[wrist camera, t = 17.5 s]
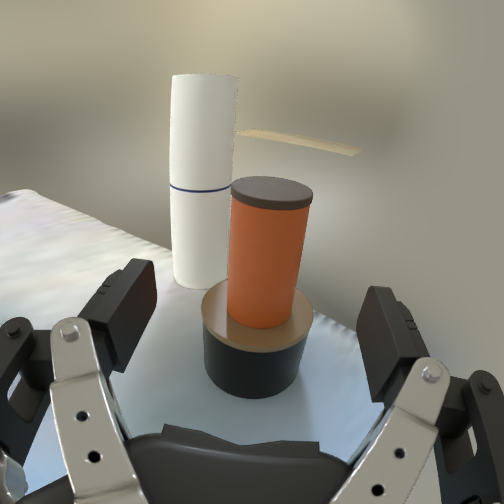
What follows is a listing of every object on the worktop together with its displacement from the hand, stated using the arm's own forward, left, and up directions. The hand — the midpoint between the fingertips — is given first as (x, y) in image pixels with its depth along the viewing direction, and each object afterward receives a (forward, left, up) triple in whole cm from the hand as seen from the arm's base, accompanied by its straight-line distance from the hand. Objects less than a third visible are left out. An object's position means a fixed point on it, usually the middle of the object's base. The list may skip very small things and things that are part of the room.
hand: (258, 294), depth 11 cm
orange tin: (-5, +9, -9) cm, 14 cm away
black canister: (-5, +9, -16) cm, 19 cm away
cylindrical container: (-19, +17, -16) cm, 30 cm away
